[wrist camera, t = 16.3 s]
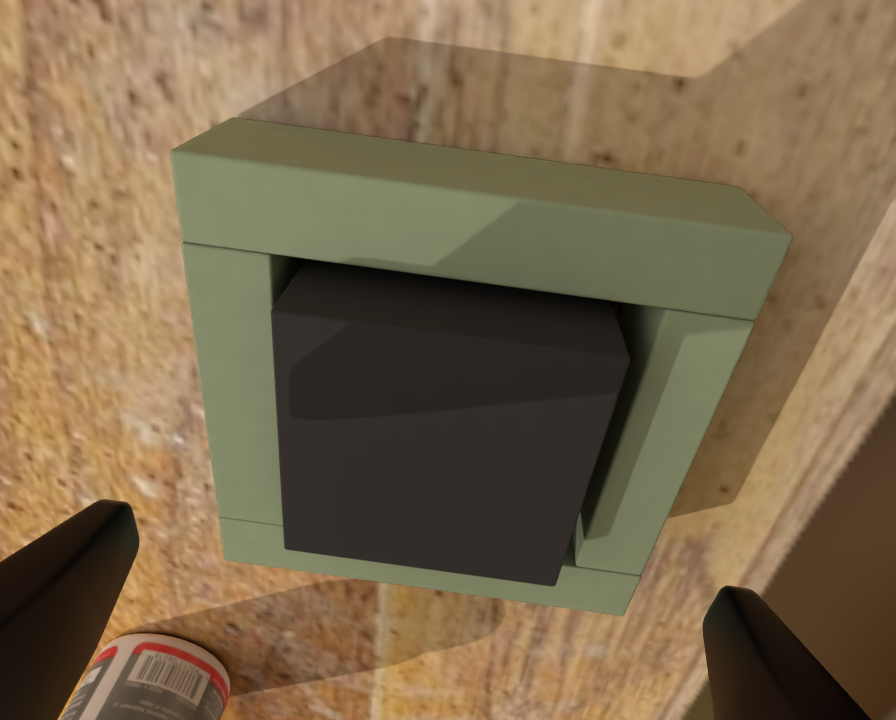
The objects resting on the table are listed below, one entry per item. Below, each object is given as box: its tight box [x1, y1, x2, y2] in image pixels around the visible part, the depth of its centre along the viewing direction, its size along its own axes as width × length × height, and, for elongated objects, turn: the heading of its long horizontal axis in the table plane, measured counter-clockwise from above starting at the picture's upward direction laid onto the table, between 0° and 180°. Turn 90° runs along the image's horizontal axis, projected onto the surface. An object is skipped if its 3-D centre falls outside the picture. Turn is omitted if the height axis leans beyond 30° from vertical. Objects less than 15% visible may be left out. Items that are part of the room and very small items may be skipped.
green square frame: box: [170, 117, 793, 616], centre depth 13 cm, size 10×10×2 cm
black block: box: [271, 259, 630, 587], centre depth 12 cm, size 6×6×4 cm
